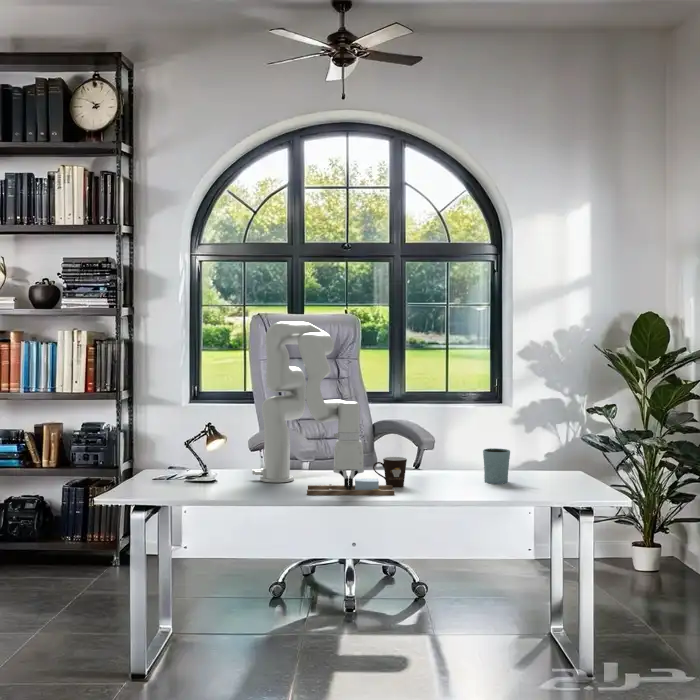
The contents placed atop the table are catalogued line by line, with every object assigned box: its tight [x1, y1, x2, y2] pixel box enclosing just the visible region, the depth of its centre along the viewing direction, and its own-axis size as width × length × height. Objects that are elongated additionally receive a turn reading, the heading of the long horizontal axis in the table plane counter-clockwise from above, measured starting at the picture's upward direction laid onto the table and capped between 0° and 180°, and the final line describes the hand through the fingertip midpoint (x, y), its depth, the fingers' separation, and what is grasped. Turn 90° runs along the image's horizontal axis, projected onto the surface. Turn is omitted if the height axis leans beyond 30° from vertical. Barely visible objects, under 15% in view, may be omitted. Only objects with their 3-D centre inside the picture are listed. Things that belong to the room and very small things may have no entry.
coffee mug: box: [372, 456, 408, 488], centre depth 329 cm, size 12×9×10 cm
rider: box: [354, 478, 380, 490], centre depth 315 cm, size 8×6×4 cm
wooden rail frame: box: [306, 484, 395, 496], centre depth 316 cm, size 30×10×2 cm, turn 91°
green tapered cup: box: [482, 447, 511, 485], centre depth 338 cm, size 10×10×12 cm
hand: (348, 489), depth 315 cm, fingers closed
